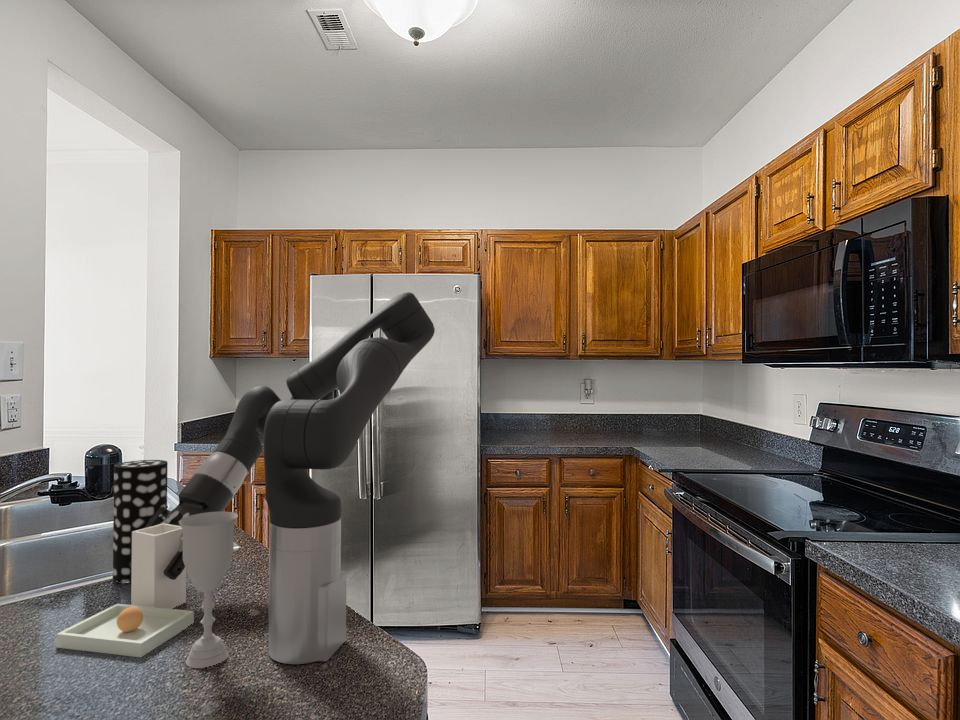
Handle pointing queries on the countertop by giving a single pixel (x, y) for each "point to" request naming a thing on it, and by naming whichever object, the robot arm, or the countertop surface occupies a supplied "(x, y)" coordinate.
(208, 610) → the chalice
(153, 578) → the cup
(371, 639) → the countertop surface
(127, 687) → the countertop surface
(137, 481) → the white-spotted black cylinder
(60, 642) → the tray
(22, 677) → the countertop surface
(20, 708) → the countertop surface
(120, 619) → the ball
